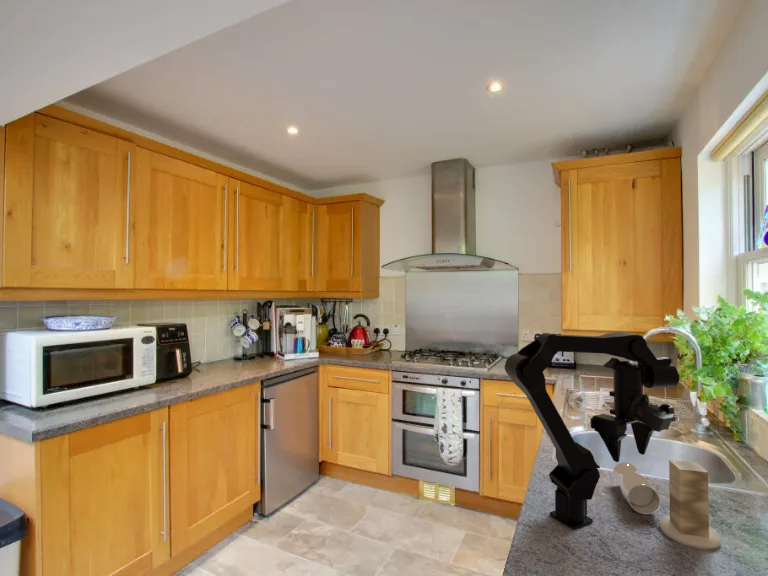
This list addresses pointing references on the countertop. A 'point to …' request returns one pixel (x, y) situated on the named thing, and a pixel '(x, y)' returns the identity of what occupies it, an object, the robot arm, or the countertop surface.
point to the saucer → (690, 536)
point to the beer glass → (636, 489)
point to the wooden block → (689, 498)
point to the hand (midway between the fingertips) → (629, 457)
